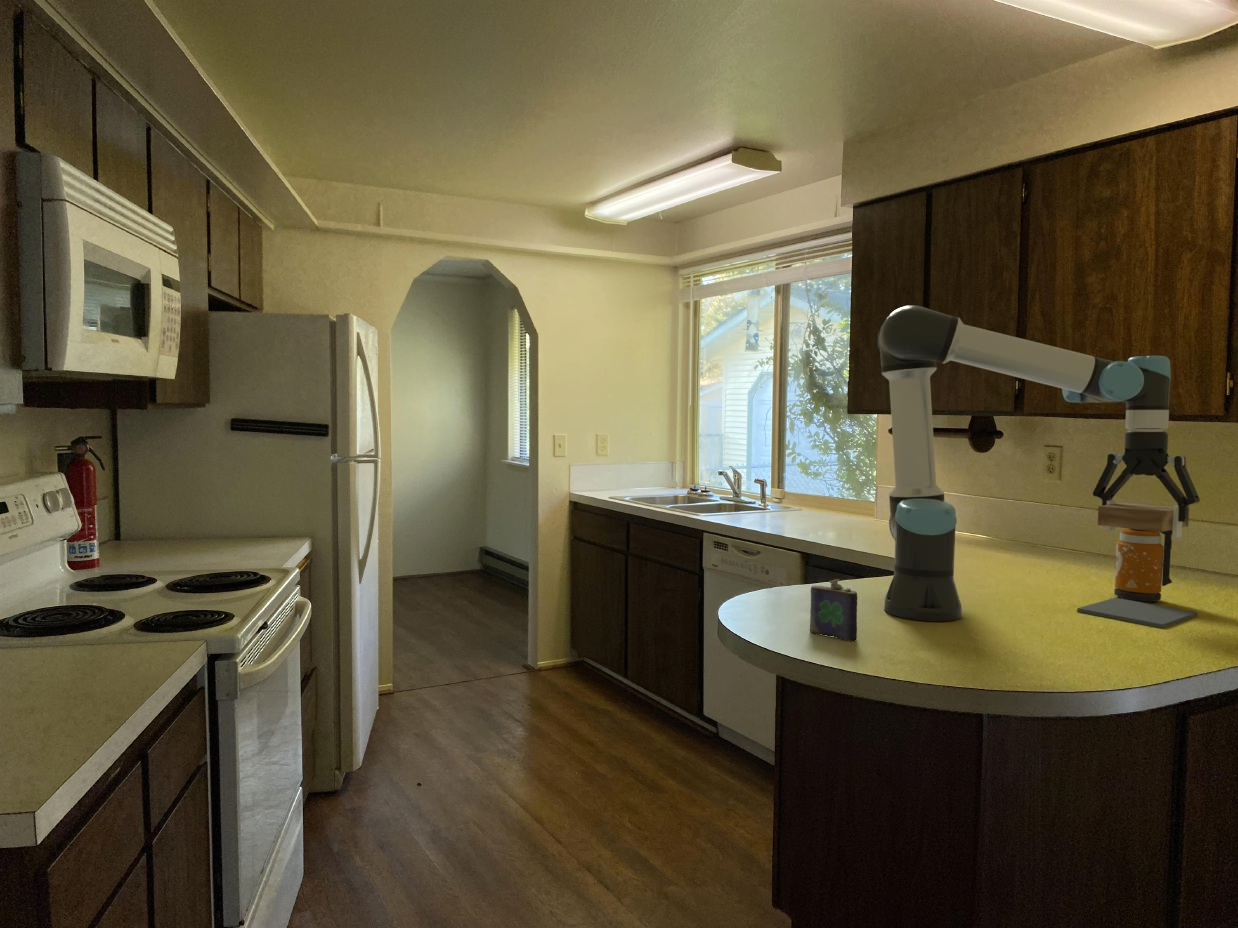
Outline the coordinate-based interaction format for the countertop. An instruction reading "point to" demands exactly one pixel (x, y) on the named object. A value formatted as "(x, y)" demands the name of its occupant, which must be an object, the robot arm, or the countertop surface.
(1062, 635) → the countertop surface
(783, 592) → the countertop surface
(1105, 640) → the countertop surface
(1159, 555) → the canister
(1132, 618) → the mat
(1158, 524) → the wooden block
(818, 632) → the flask
